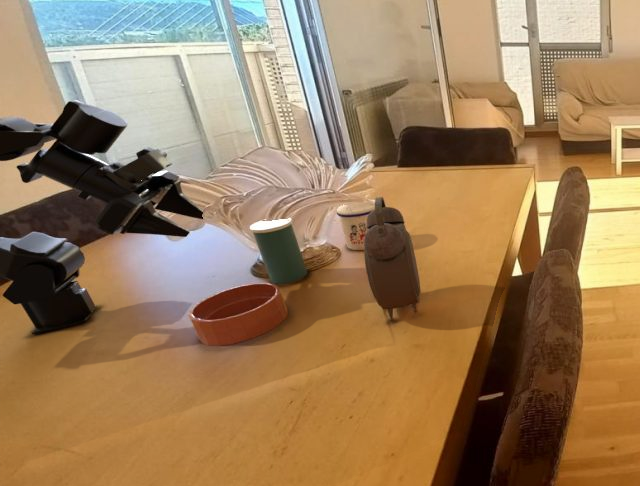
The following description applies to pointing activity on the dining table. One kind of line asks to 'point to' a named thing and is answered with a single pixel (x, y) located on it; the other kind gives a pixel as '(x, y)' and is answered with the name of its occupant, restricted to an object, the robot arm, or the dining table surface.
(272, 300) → the bowl
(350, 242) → the teacup with lid
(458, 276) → the dining table surface
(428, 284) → the dining table surface
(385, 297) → the alarm clock
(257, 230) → the green canister
